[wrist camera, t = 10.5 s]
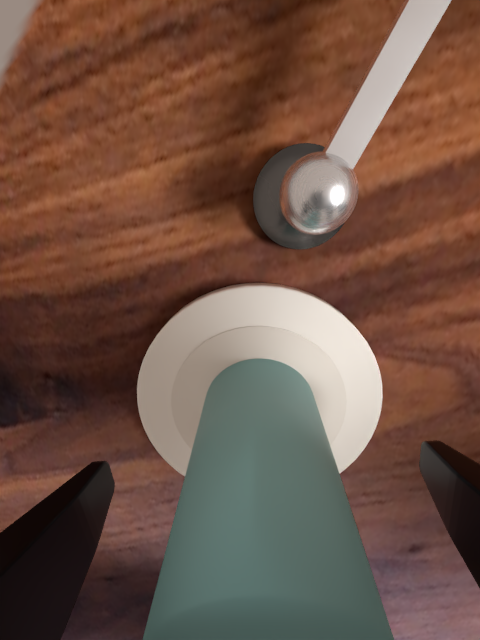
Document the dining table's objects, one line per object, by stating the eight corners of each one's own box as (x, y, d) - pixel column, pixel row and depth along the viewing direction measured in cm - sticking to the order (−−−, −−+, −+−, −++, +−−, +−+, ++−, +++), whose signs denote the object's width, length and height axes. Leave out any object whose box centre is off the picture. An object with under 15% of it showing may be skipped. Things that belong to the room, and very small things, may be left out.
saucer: (378, 269, 10) (389, 275, 10) (371, 477, 13) (379, 495, 12) (120, 295, 11) (109, 302, 10) (166, 488, 14) (161, 506, 13)
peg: (316, 448, 12) (397, 749, 5) (213, 454, 12) (164, 746, 5) (312, 353, 11) (412, 591, 4) (197, 363, 11) (108, 600, 4)
